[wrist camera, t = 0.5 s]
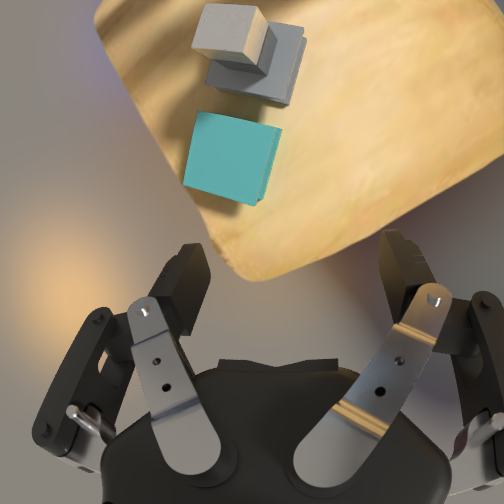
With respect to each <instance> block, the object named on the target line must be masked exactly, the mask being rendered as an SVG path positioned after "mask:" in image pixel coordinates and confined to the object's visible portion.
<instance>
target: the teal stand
mask: <svg viewBox="0 0 504 504" xmlns="http://www.w3.org/2000/svg"><path fill="white" fill-rule="evenodd" d="M281 132H282V129H279V128H275V127H272V126H268V125H264V124H260V123H256V122H252V121H247V120H243V119H238V118H234V117H229V116H224V115H219V114H214V113H208V112H203V111H198V114H197V118H196V122H195V127H194V131H193V136H192V140H191V145H190V150H189V155H188V160H187V165H186V170H185V175H184V181H183V185H185V186H188V187H192V188H195V189H199V190H202V191H205V192H209V193H212V194H215V195H219V196H222V197H225V198H228V199H232V200H235V201H238V202H241V203H244V204H248V205H251V206H256V204H257V200H258V199H260V200H262V199H263V198H264V194H265V191H266V187H267V183H268V180H269V176H270V172H271V169H272V165H273V161H274V158H275V154H276V150H277V147H278V143H279V140H280V136H281Z"/></svg>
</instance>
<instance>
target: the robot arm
mask: <svg viewBox="0 0 504 504" xmlns="http://www.w3.org/2000/svg"><path fill="white" fill-rule="evenodd" d="M379 272H380V276H381V280H382V283H383V286H384V290H385V293H386V296H387V300H388V304H389V307H390V311H391V315H392V319H393V323H394V326H393V328H392V329H391V331H390V332H389V334H388V336H387V337H386V339H385V340H384V342H383V343H382V345H381V346H380V348H379V349H378V351H377V352H376V354H375V355H374V356H373V358H372V359H371V361H370V362H369V364H368V365H367V367H366V368H365V369H364V371H363V372H362V373H361V374H359V373H357V372H355V371H352V370H349V369H346V368H342V367H338V359H319V360H305V361H301V362H297V363H293V364H289V365H284V366H280V367H273V366H268V365H264V364H260V363H256V362H252V361H248V360H225V359H220V360H219V363H218V367H217V368H213V369H209V370H206V371H204V372H201V373H199V374H197V375H195V373H194V371H193V369H192V367H191V365H190V363H189V361H188V359H187V357H186V355H185V352H184V351H183V348H182V346H181V344H180V342H179V338H180V335H182V336H190V335H191V332H192V330H193V327H194V324H195V321H196V319H197V316H198V313H199V311H200V308H201V305H202V302H203V300H204V297H205V294H206V292H207V289H208V286H209V284H210V279H211V274H210V269H209V266H208V263H207V260H206V257H205V253H204V250H203V248H202V245H201V244H200V243H193V244H184V245H183V246H182V248H181V250H180V251H179V253H178V255H175V256H173V257H172V258H171V259H170V260H169V261H168V262H167V263H166V265H165V266H164V268H163V271H162V272H161V273H160V275H159V277H158V278H157V280H156V282H155V284H154V286H153V287H152V289H151V291H150V292H149V294H148V296H147V297H143V298H140V299H138V300H136V301H135V302H133V304H131V305H130V307H129V308H128V311H127V312H125V313H121V314H117V315H113V313H112V312H111V310H110V309H109V308H107V307H101V308H98V309H95V310H94V311H92V313H90V314H89V315H88V317H87V318H86V320H85V321H84V323H83V325H82V327H81V328H80V331H79V332H78V334H77V335H76V337H75V339H74V341H73V343H72V345H71V347H70V348H69V350H68V352H67V354H66V356H65V358H64V360H63V361H62V363H61V365H60V367H59V369H58V371H57V374H56V375H55V378H54V379H53V382H52V384H51V386H50V388H49V390H48V392H47V394H46V397H45V399H44V401H43V403H42V405H41V408H40V410H39V412H38V414H37V417H36V419H35V422H34V425H33V428H32V437H33V440H34V442H35V443H36V444H37V445H39V446H40V447H42V448H43V449H45V450H47V451H48V452H50V453H51V454H52V455H53V456H55V457H57V458H59V459H60V460H62V461H64V462H66V463H68V464H70V465H72V466H74V467H77V468H79V469H81V470H83V471H85V472H88V473H92V472H97V473H100V474H101V478H102V486H103V499H102V504H444V502H445V500H446V498H447V496H450V495H454V494H457V493H461V492H464V491H467V490H470V489H474V490H476V491H481V490H484V489H487V488H489V487H492V486H494V485H496V484H499V483H501V482H503V481H504V308H503V306H502V304H501V302H500V300H499V299H498V298H497V297H496V296H495V295H494V294H492V293H490V292H487V291H479V292H476V293H475V294H474V295H473V297H472V299H471V301H468V300H462V299H456V298H452V296H451V294H450V292H449V291H448V289H446V288H445V287H444V286H442V285H440V284H437V283H436V281H435V278H434V277H433V274H432V272H431V270H430V268H429V266H428V265H427V263H426V261H425V258H424V257H423V256H422V253H421V251H420V249H419V247H418V246H417V245H416V244H414V243H413V242H412V241H411V240H404V238H403V236H402V235H401V233H400V231H399V230H398V229H395V230H382V232H381V239H380V251H379ZM104 351H105V352H106V354H107V355H108V357H107V359H106V361H105V364H104V366H103V368H102V370H101V372H100V373H99V371H98V362H99V360H100V358H101V356H102V354H103V352H104ZM431 351H432V352H439V353H445V354H450V355H451V360H452V364H453V368H454V373H455V377H456V382H457V387H458V393H459V398H460V404H461V410H462V418H463V425H464V427H463V428H462V429H461V430H460V431H459V433H458V434H457V436H456V438H455V441H454V450H453V454H452V456H451V458H450V460H448V458H447V456H446V455H445V453H444V452H443V451H442V450H441V449H439V447H438V446H437V445H435V444H434V443H433V442H432V441H431V440H430V439H429V438H428V437H427V436H426V435H425V434H424V433H423V432H422V431H421V430H420V429H419V428H418V427H417V426H416V425H415V424H414V423H413V422H411V420H410V419H409V418H407V417H406V416H405V415H404V414H403V413H402V412H401V411H400V409H401V407H402V406H403V404H404V402H405V401H406V399H407V397H408V395H409V394H410V392H411V390H412V388H413V387H414V385H415V383H416V381H417V379H418V377H419V375H420V374H421V372H422V370H423V368H424V366H425V364H426V362H427V360H428V358H429V356H430V354H431ZM135 366H136V369H137V372H138V376H139V379H140V383H141V386H142V389H143V392H144V395H145V399H146V401H147V405H148V407H149V410H150V411H149V412H148V413H147V414H145V415H144V416H143V417H141V418H140V419H139V420H137V421H136V422H135V423H133V424H132V425H131V426H129V427H128V428H127V429H125V430H124V431H123V432H121V433H120V434H118V435H117V436H116V427H115V422H116V418H117V415H118V413H119V410H120V407H121V404H122V401H123V398H124V396H125V392H126V390H127V387H128V384H129V382H130V379H131V376H132V374H133V371H134V368H135Z"/></svg>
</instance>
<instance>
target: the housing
mask: <svg viewBox="0 0 504 504" xmlns="http://www.w3.org/2000/svg"><path fill="white" fill-rule="evenodd" d="M268 25H269V24H268V23H267V21H266V19H265V18H264V16H263V15H262V13H261V11H260V10H259V8H258V7H257V6H250V5H236V4H205V6H204V9H203V12H202V14H201V17H200V20H199V23H198V26H197V30H196V33H195V36H194V39H193V42H192V46H191V48H192V49H194V50H196V51H198V52H200V53H201V54H203V55H205V56H207V57H208V58H210V59H213V60H214V61H215V62H217V63H219V64H220V65H222V66H224V67H225V68H227V69H230V70H237V71H243V72H249V73H255V74H260V75H265V76H268V73H269V69H270V66H271V62H272V59H273V55H274V52H275V48H276V45H277V41H278V39H277V38H276V36H275V34H274V33H273V31H272V29H271V28H270V26H268Z"/></svg>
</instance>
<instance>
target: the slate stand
mask: <svg viewBox="0 0 504 504" xmlns="http://www.w3.org/2000/svg"><path fill="white" fill-rule="evenodd" d="M267 23H268V24H269V25H268V26H270V28H271V29H272V31H273V33H274V34H275V36H276V38H277V39H278V41H277V45H276V48H275V52H274V55H273V59H272V62H271V66H270V69H269V73H268V76H265V75H260V74H255V73H249V72H243V71H237V70H230V69H227V68H225V67H224V66H222V65H220V64H219V63H217V62H215V61H214V60H213V59H212V60H211V63H210V67H209V70H208V74H207V78H206V82H205V85H207V86H211V87H217V90H220V91H226V92H232V93H237V94H242V95H248V96H252V97H257V98H262V99H266V100H271V101H275V102H279V103H283V104H287V105H289V103H290V100H291V96H292V93H293V89H294V85H295V82H296V78H297V75H298V71H299V67H300V64H301V60H302V57H303V53H304V49H305V46H306V42H307V39H306V38H304V37H302V36H303V33H304V28H303V27H299V26H294V25H288V24H283V23H276V22H270V21H267Z"/></svg>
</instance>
